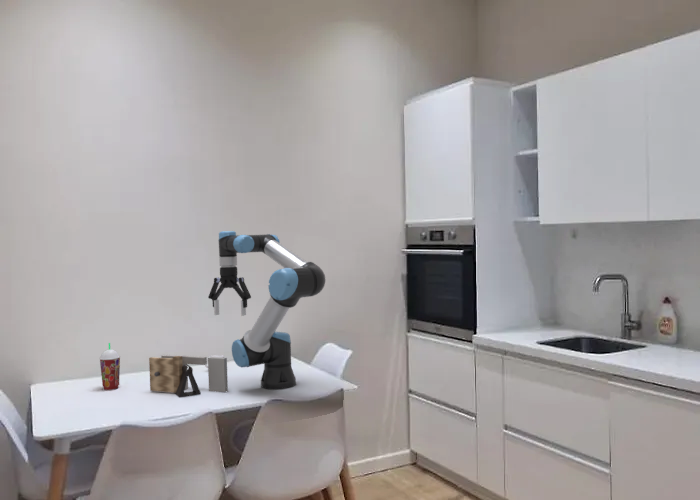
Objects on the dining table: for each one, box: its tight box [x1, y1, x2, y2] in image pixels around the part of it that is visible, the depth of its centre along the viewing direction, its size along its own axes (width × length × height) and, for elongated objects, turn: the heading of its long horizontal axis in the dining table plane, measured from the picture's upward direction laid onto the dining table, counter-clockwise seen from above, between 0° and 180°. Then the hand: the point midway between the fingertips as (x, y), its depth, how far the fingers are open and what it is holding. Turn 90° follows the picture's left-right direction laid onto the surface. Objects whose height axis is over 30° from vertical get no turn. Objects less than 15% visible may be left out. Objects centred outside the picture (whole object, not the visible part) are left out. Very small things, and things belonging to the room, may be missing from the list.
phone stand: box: [175, 364, 201, 398], centre depth 259 cm, size 9×6×12 cm, turn 117°
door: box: [148, 355, 183, 394], centre depth 263 cm, size 16×3×15 cm, turn 68°
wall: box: [160, 354, 229, 393], centre depth 267 cm, size 32×2×14 cm, turn 68°
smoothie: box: [99, 342, 121, 391], centre depth 274 cm, size 8×8×20 cm
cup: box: [204, 354, 225, 369], centre depth 306 cm, size 8×10×7 cm
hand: (230, 315), depth 273 cm, fingers open, 13 cm apart
